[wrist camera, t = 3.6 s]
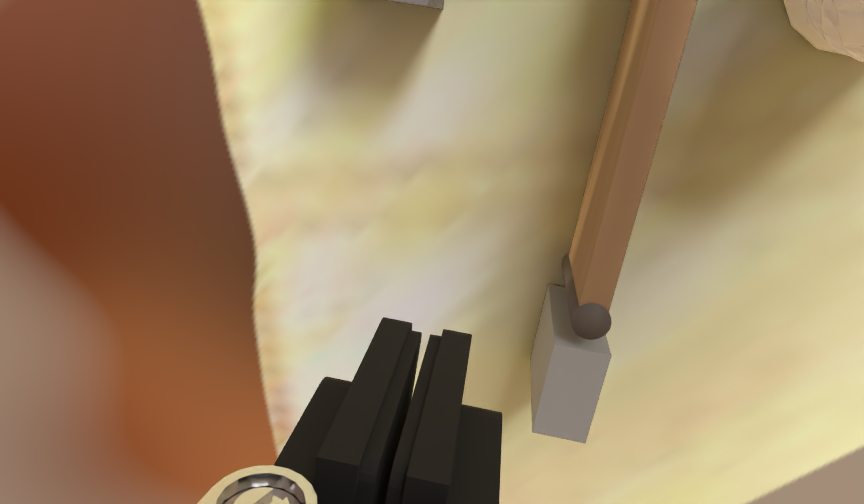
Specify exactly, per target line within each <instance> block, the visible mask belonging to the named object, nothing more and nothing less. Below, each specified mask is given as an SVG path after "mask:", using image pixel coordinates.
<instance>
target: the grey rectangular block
mask: <svg viewBox="0 0 864 504" xmlns="http://www.w3.org/2000/svg"><path fill="white" fill-rule="evenodd" d="M386 1H393V2H399V3H405V4H412V5H418V6H424V7H431V8H437V9H443V6H444V0H386Z"/></svg>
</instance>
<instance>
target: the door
mask: <svg viewBox="0 0 864 504" xmlns="http://www.w3.org/2000/svg"><path fill="white" fill-rule="evenodd" d="M697 1H698V0H632V3H631V7H630V11H629V15H628V19H627V23H626V27H625V32H624V36H623V40H622V44H621V48H620V52H619V56H618V60H617V64H616V68H615V72H614V76H613V80H612V84H611V88H610V92H609V96H608V100H607V104H606V108H605V112H604V116H603V120H602V124H601V128H600V132H599V136H598V140H597V144H596V148H595V152H594V156H593V160H592V164H591V168H590V172H589V176H588V180H587V184H586V188H585V192H584V196H583V200H582V204H581V209H580V213H579V217H578V221H577V225H576V229H575V233H574V237H573V241H572V245H571V249H570V252H569V253H568V254H567V255H566V256H565V257H564V258H563V261H562V271H563V277H564V283H565V289H566V295H567V301H568V307H569V313H570V319H571V325H572V329H573V331H574V332H575V333H576V334H577V335H578V336H579V337H581V338H584V339H588V340H594V339H598V338H601V337H602V336H604V335H605V334H606V333H607V332H608V331H609V329H610V327H611V317H610V314H609V309H610V305H611V302H612V298H613V295H614V291H615V288H616V284H617V281H618V277H619V274H620V270H621V267H622V263H623V260H624V256H625V253H626V249H627V246H628V242H629V239H630V235H631V232H632V228H633V225H634V221H635V218H636V214H637V211H638V207H639V204H640V200H641V197H642V193H643V190H644V186H645V183H646V179H647V176H648V172H649V169H650V165H651V162H652V158H653V155H654V151H655V148H656V144H657V141H658V137H659V134H660V130H661V127H662V123H663V120H664V116H665V113H666V109H667V106H668V102H669V99H670V96H671V92H672V89H673V85H674V82H675V78H676V75H677V71H678V68H679V64H680V61H681V57H682V54H683V50H684V47H685V43H686V40H687V36H688V33H689V29H690V26H691V22H692V19H693V15H694V12H695V8H696V5H697Z"/></svg>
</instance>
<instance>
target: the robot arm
mask: <svg viewBox="0 0 864 504" xmlns="http://www.w3.org/2000/svg"><path fill="white" fill-rule="evenodd" d="M421 336H422V333H421V332H416V331H412V323H410V322H405V321H400V320H394V319H389V318H384V317H383V319H382V320H381V322H380V324H379V327H378V329H377V331H376V333H375V335H374V337H373V339H372V341H371V343H370V345H369V348H368V350H367V352H366V354H365V356H364V358H363V360H362V362H361V364H360V366H359V368H358V371H357V373H356V375H355V377H354V379H353V381H352V382H350V381H345V380H340V379H335V378H331V377H325V378H324V379H323V380H322V381H321V383H320V385H319V386H318V388H317V390H316V392H315V394H314V395H313V397H312V399H311V401H310V402H309V404H308V406H307V408H306V409H305V411H304V413H303V415H302V416H301V418H300V420H299V422H298V423H297V425H296V427H295V429H294V431H293V432H292V434H291V436H290V438H289V439H288V441H287V443H286V445H285V446H284V448H283V450H282V452H281V453H280V455H279V457H278V459H277V460H276V462H275V464H274V465H270V466H253V467H249V468H244V469H240V470H238V471H236V472H234V473H232V474H230V475H228V476H225V477H224V478H223V479H222V480H220V481H219V482H218V483H217V484H215V485H214V486H213V487H212V488H211V489H210V490H209V491H208V492H207V494H206V495H205V496H204V497H203V498H202V499H201V500H200V501H199V502H198V503H197V504H499V491H500V464H501V438H502V413H501V412H496V411H492V410H487V409H482V408H477V407H472V406H467V405H462V398H463V391H464V384H465V378H466V371H467V364H468V358H469V351H470V345H471V338H472V335H471V334H466V333H461V332H456V331H451V330H445V329H443V332H442V336H436V335H430V338H429V341H428V345H427V348H426V352H425V355H424V358H423V362H422V365H421V369H420V372H419V376H418V379H417V383H416V386H415V389H414V393H413V386H414V380H415V374H416V368H417V361H418V355H419V349H420V343H421ZM412 393H413V396H412ZM411 399H412V400H411Z"/></svg>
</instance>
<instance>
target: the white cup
mask: <svg viewBox="0 0 864 504" xmlns="http://www.w3.org/2000/svg"><path fill="white" fill-rule="evenodd" d="M783 1H784V4H785V8H786V11H787V14H788V17H789V20H790V24H791V26H792V27H793V28H794V29H795V30H796V31H797V32H799V33H800V34H801V35H802V36H803V37H804V38H805V39H806V40H807V41H809V42H810V43H811V44H812V45H813V46H814V47H815V48H816V49H819V50H824V51H829V52H833V53H838V54H842V55H847V56H850V57H852V58H854V59H856V60H858V61H861V62H864V0H783Z"/></svg>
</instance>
